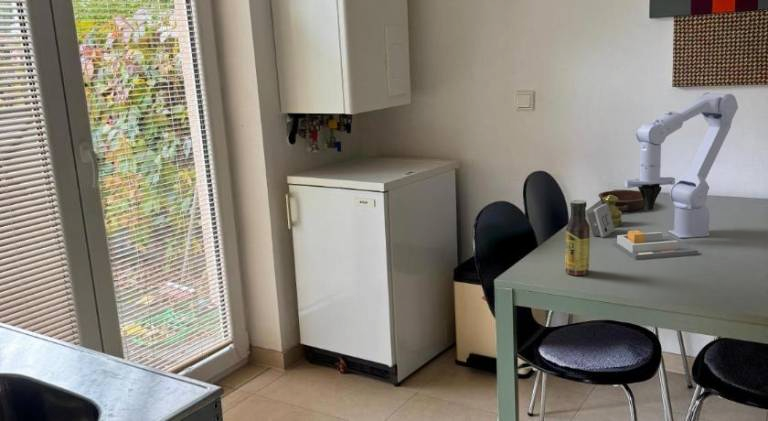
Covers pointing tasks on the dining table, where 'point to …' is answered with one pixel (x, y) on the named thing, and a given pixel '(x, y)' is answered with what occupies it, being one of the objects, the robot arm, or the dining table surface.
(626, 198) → the dish
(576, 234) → the sauce bottle
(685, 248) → the grey tray
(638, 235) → the block
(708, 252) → the dining table surface
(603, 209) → the electrical switch
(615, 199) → the salt shaker
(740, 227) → the dining table surface
